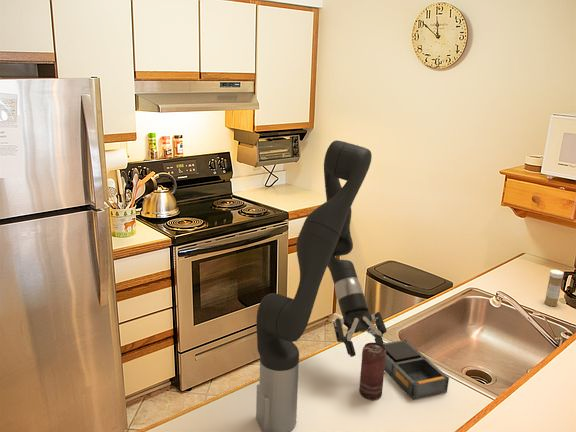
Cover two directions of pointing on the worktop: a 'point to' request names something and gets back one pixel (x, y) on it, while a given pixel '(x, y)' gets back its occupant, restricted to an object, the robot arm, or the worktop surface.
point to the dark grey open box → (413, 371)
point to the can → (372, 371)
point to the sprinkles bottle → (554, 287)
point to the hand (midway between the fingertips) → (367, 353)
